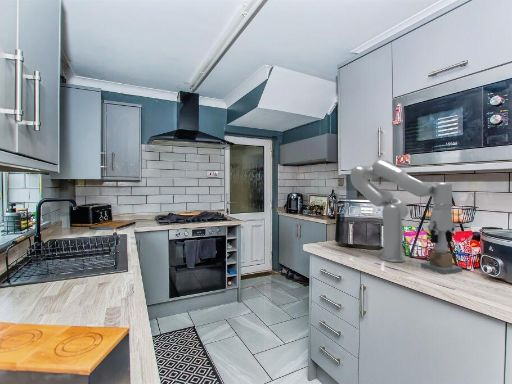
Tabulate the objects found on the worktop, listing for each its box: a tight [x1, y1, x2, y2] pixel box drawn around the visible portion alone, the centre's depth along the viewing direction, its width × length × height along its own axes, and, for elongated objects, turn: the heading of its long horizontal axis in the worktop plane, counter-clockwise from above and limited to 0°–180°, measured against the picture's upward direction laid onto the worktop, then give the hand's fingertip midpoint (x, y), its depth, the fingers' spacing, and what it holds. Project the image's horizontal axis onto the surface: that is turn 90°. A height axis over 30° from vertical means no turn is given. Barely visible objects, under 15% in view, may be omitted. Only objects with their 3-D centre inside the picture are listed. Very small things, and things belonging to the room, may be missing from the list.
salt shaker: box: [433, 230, 449, 254], centre depth 132 cm, size 6×6×13 cm
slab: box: [420, 261, 463, 275], centre depth 132 cm, size 12×12×2 cm
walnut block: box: [429, 251, 453, 268], centre depth 132 cm, size 6×6×6 cm
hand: (441, 242), depth 132 cm, fingers open, 9 cm apart
